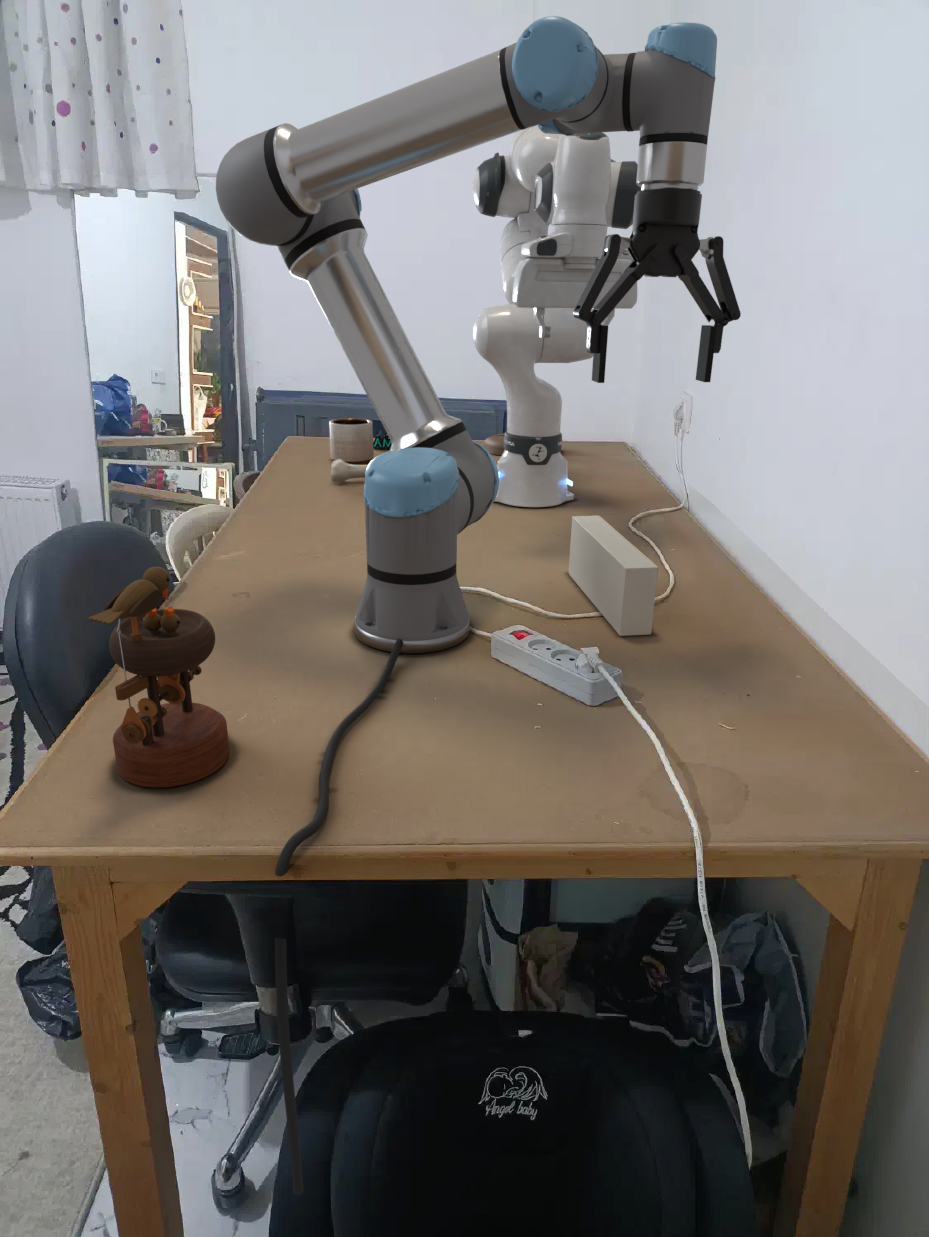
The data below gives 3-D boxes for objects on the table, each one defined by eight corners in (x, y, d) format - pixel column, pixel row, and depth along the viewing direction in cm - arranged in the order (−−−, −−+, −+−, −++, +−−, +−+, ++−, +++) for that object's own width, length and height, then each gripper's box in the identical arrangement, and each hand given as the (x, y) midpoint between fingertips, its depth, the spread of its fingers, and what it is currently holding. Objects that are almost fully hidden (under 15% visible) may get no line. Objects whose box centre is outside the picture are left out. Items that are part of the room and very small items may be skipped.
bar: (651, 634, 113) (658, 567, 110) (619, 636, 113) (626, 568, 109) (594, 572, 136) (599, 515, 133) (568, 573, 136) (572, 516, 132)
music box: (204, 802, 76) (158, 593, 68) (89, 801, 77) (32, 596, 70) (260, 719, 90) (227, 538, 82) (162, 719, 91) (122, 542, 84)
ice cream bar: (489, 466, 209) (490, 449, 208) (482, 444, 235) (482, 429, 234) (574, 466, 210) (575, 449, 209) (557, 445, 236) (558, 430, 234)
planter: (327, 456, 217) (325, 418, 214) (369, 454, 220) (368, 417, 217) (334, 465, 208) (332, 425, 204) (377, 463, 211) (376, 424, 207)
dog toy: (417, 477, 197) (417, 456, 195) (420, 483, 191) (420, 461, 189) (330, 479, 194) (329, 457, 192) (330, 485, 188) (329, 463, 186)
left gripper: (755, 195, 102) (732, 377, 110) (554, 189, 98) (545, 378, 106) (787, 189, 95) (759, 384, 103) (572, 183, 91) (560, 385, 99)
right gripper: (634, 247, 138) (626, 336, 144) (511, 245, 135) (508, 336, 140) (647, 247, 133) (639, 339, 138) (520, 244, 129) (516, 339, 135)
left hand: (650, 381), depth 104 cm, fingers open, 13 cm apart
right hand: (572, 337), depth 139 cm, fingers open, 8 cm apart
